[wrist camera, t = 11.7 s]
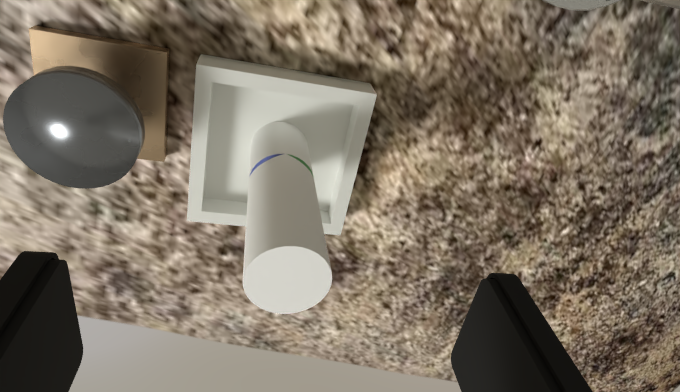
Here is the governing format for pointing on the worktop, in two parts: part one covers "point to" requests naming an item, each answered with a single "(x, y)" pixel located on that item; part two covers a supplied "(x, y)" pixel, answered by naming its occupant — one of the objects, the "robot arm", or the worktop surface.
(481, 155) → the worktop surface
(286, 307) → the tube
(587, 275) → the worktop surface
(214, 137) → the tray
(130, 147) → the knob on plate
